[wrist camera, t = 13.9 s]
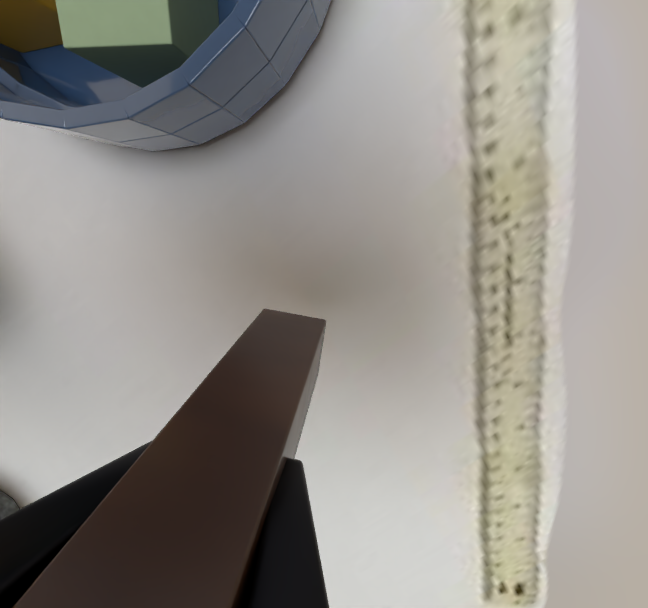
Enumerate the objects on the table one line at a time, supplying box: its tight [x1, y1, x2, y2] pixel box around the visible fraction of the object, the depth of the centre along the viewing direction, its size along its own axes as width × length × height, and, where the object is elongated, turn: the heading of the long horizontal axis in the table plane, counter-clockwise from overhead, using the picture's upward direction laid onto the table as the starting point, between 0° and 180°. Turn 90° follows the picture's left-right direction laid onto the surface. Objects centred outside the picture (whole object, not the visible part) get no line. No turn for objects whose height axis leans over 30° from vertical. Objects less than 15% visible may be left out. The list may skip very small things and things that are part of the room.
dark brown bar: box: [12, 309, 326, 608], centre depth 7 cm, size 2×2×12 cm
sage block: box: [55, 0, 219, 87], centre depth 12 cm, size 4×4×4 cm
